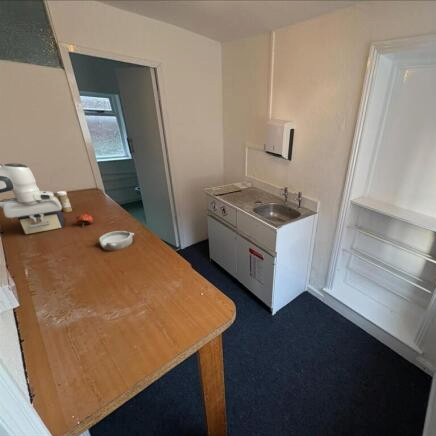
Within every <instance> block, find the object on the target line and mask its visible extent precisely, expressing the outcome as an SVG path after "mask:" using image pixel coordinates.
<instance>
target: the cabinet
mask: <svg viewBox="0 0 436 436" xmlns="http://www.w3.org/2000/svg"><path fill="white" fill-rule="evenodd" d="M62 211H63V210H62V209H61V210H60V211H54V212H47V213H44V215H51V214H57V217H58V220H59V222H60V225H61V228H60V229H62V228H64V223H65V217H64V215H63V214H64V213H63V212H62ZM38 216H41V215H40V214H34V217H38ZM25 218H30V217H29V215H27V216H21V217H17V220H18V222H19V224H20V227H21V228H22V230H23V233H24V235H27V234H26V233H25V231H24V229H23V227H22V224H21V222H20V220H21V219H25Z"/></svg>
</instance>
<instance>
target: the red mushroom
mask: <svg viewBox="0 0 436 436" xmlns="http://www.w3.org/2000/svg"><path fill="white" fill-rule="evenodd" d="M75 221H76V223H78V224H79V225H80V226H82V227H81V228H84V226H86V225H91V224H92V223H93V222H94V218H93V216H92V215H91V214H89V213H87V212H85V213H81V214H78V215H77V216H76V217H75Z"/></svg>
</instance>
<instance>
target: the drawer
mask: <svg viewBox="0 0 436 436" xmlns="http://www.w3.org/2000/svg"><path fill="white" fill-rule="evenodd" d="M35 218H41V216H38V217H35ZM43 220H44V221H42V222H35V220H34V219H32V218H25V219H21V220H20V222H21V224H22V226H21V228H22V227H23V228H22V230H23V229H24V230H23V232H24V231H25V233H26V234H25V233H24V234H25V235H28V234H35V233H40V232H45V231H51V230H56V229H57V230H58V229H62V228H61V225H60V222H59V220H58V217H57V214H51V215H44V216H43ZM20 222H19V223H20ZM21 224H20V225H21Z"/></svg>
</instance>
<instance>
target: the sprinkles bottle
mask: <svg viewBox="0 0 436 436" xmlns="http://www.w3.org/2000/svg"><path fill="white" fill-rule="evenodd" d="M56 196H57V198H58V200H59V202H60V204H61V206H62V209H61V210H62V211H63V212H62V213H70V212H73V209H72V205H71V202H70V199H69V197H68V193H67V191H66V190H61V191H60V190H59V191H56Z"/></svg>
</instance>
